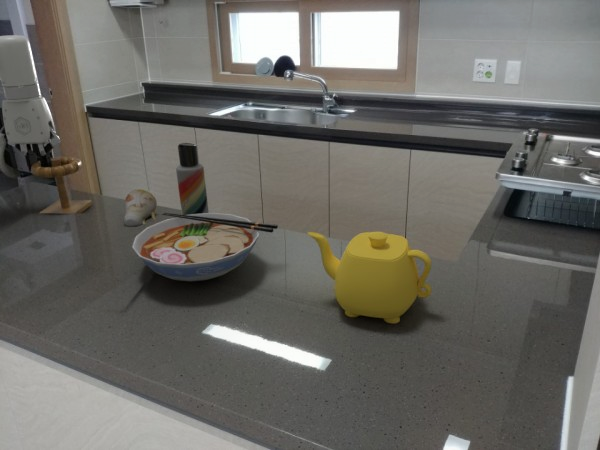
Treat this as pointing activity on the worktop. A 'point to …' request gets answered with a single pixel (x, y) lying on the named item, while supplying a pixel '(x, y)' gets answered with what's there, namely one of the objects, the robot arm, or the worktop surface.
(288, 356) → the worktop surface
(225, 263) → the ramen bowl
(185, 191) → the lotion bottle
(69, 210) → the peg stand
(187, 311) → the worktop surface
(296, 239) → the worktop surface
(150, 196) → the white round figurine
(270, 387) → the worktop surface
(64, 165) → the ring
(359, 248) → the teapot
